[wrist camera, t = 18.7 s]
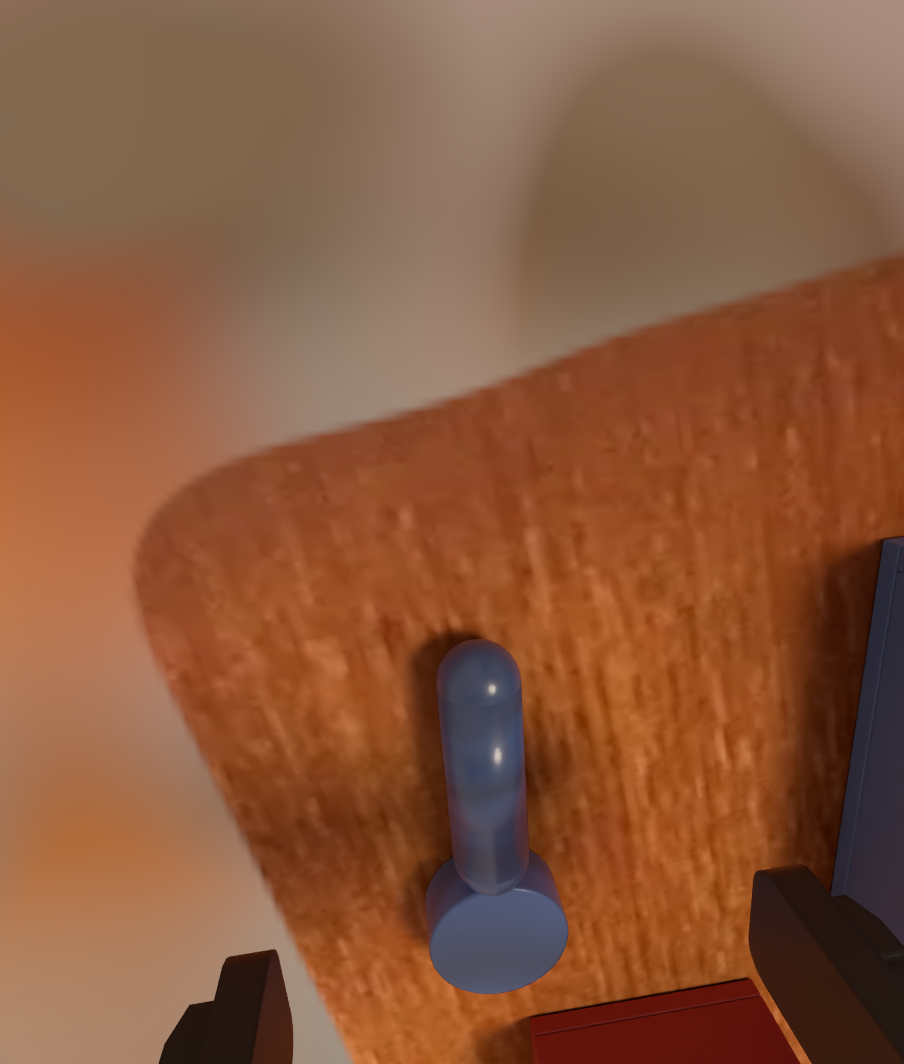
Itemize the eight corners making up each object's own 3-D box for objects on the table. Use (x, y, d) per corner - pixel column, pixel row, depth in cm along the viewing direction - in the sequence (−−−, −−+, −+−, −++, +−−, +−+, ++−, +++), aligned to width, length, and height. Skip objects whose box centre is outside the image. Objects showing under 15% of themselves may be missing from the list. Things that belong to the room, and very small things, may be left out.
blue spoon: (393, 634, 14) (395, 677, 12) (544, 615, 14) (568, 655, 12) (431, 952, 17) (436, 1023, 15) (555, 931, 17) (575, 998, 15)
